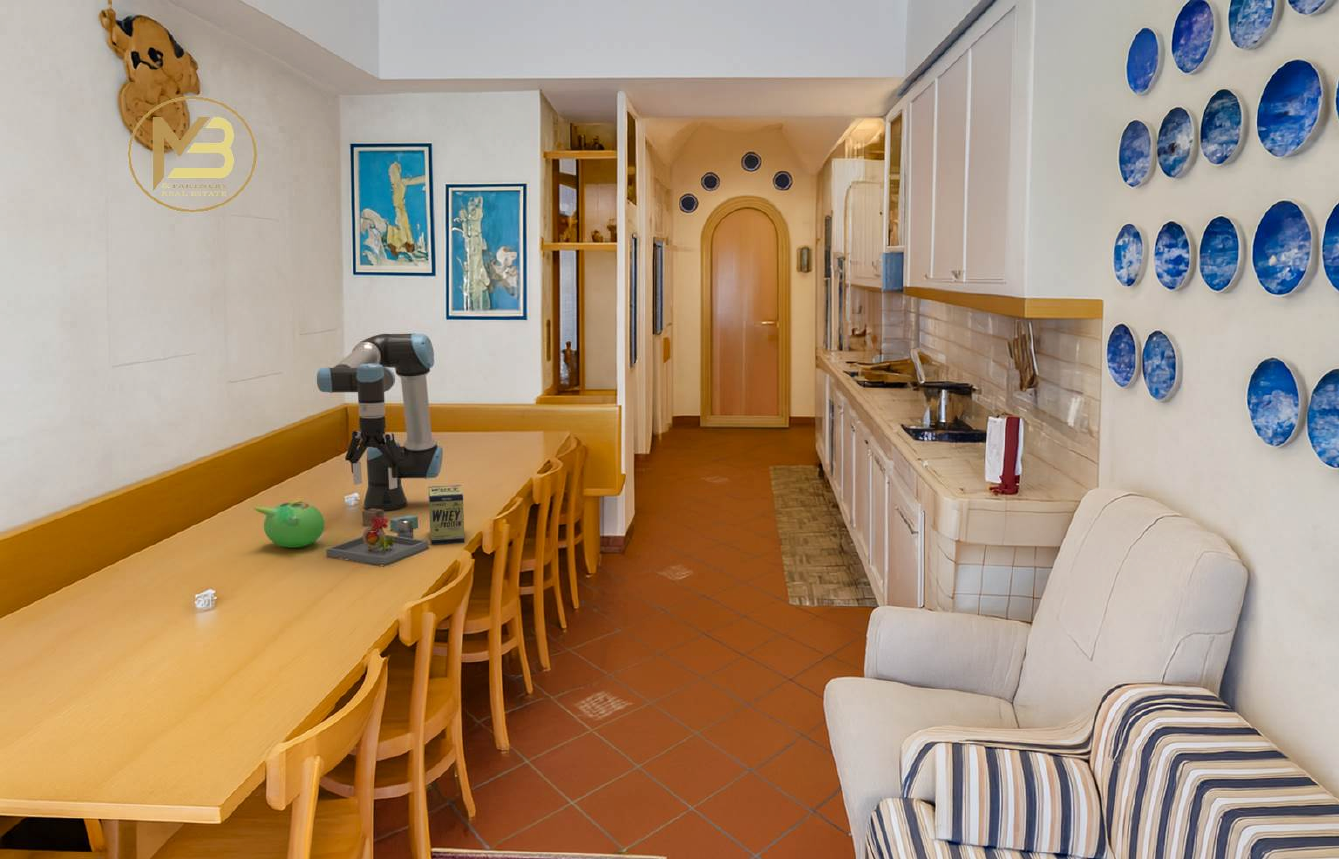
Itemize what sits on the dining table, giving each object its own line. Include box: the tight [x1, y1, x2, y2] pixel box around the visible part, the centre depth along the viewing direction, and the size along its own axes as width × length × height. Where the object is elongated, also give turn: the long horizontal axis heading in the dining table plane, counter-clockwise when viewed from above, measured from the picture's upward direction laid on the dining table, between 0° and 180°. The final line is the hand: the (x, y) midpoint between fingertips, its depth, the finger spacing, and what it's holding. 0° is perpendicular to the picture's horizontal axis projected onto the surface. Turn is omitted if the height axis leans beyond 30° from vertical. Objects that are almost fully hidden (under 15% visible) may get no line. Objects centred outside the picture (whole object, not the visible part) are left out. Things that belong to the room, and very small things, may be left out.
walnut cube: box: [361, 508, 385, 527], centre depth 319 cm, size 5×5×5 cm
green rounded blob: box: [253, 497, 325, 549], centre depth 292 cm, size 18×17×15 cm
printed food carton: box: [362, 517, 394, 552], centre depth 287 cm, size 6×11×9 cm
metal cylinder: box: [396, 519, 415, 539], centre depth 303 cm, size 5×5×6 cm
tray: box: [325, 533, 430, 567], centre depth 287 cm, size 20×22×2 cm
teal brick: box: [389, 514, 419, 533], centre depth 314 cm, size 4×8×4 cm, turn 141°
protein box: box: [428, 485, 465, 545], centre depth 304 cm, size 10×16×16 cm
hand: (375, 486), depth 284 cm, fingers open, 13 cm apart
